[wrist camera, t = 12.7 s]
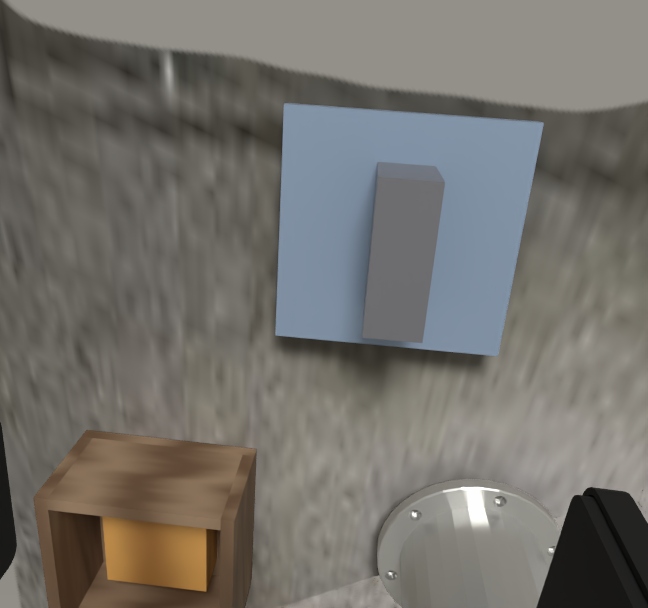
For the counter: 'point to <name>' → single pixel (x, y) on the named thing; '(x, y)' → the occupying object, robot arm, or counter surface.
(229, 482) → the box
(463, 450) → the counter surface
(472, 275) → the lid
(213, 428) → the counter surface
